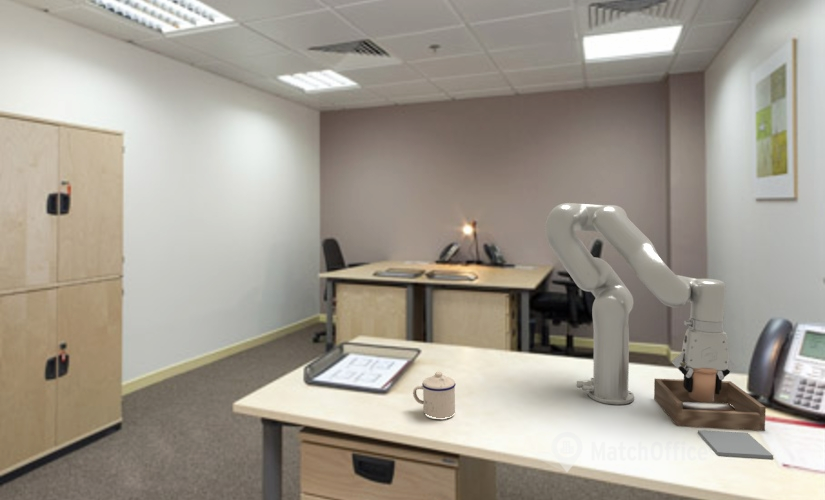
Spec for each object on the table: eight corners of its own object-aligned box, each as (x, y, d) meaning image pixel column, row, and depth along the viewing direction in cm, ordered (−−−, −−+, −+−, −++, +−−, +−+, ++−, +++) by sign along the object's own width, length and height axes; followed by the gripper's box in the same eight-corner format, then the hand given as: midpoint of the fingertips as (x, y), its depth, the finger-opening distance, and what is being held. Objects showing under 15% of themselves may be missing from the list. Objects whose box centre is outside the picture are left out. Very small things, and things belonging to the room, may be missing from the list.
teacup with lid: (459, 409, 134) (458, 368, 134) (451, 423, 126) (450, 379, 125) (419, 404, 138) (418, 365, 138) (408, 417, 130) (407, 375, 129)
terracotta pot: (692, 401, 126) (694, 368, 125) (682, 391, 133) (684, 360, 132) (720, 403, 125) (723, 370, 124) (709, 393, 131) (711, 361, 130)
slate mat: (718, 455, 106) (718, 452, 106) (697, 433, 117) (697, 429, 117) (773, 459, 105) (773, 455, 104) (747, 435, 115) (747, 432, 115)
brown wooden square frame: (677, 426, 121) (677, 403, 121) (654, 398, 139) (654, 378, 139) (764, 430, 118) (765, 406, 117) (729, 401, 136) (730, 381, 135)
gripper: (676, 327, 125) (672, 394, 126) (749, 331, 122) (744, 399, 123) (666, 320, 132) (662, 384, 134) (735, 323, 129) (730, 388, 131)
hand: (701, 390), depth 128 cm, fingers closed on terracotta pot, 6 cm apart
